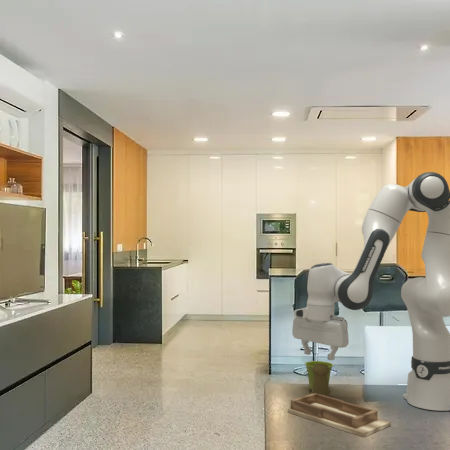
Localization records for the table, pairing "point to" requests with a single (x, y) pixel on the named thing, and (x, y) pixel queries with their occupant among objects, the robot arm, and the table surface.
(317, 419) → the wooden tray
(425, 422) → the table surface
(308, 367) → the plant pot
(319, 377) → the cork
